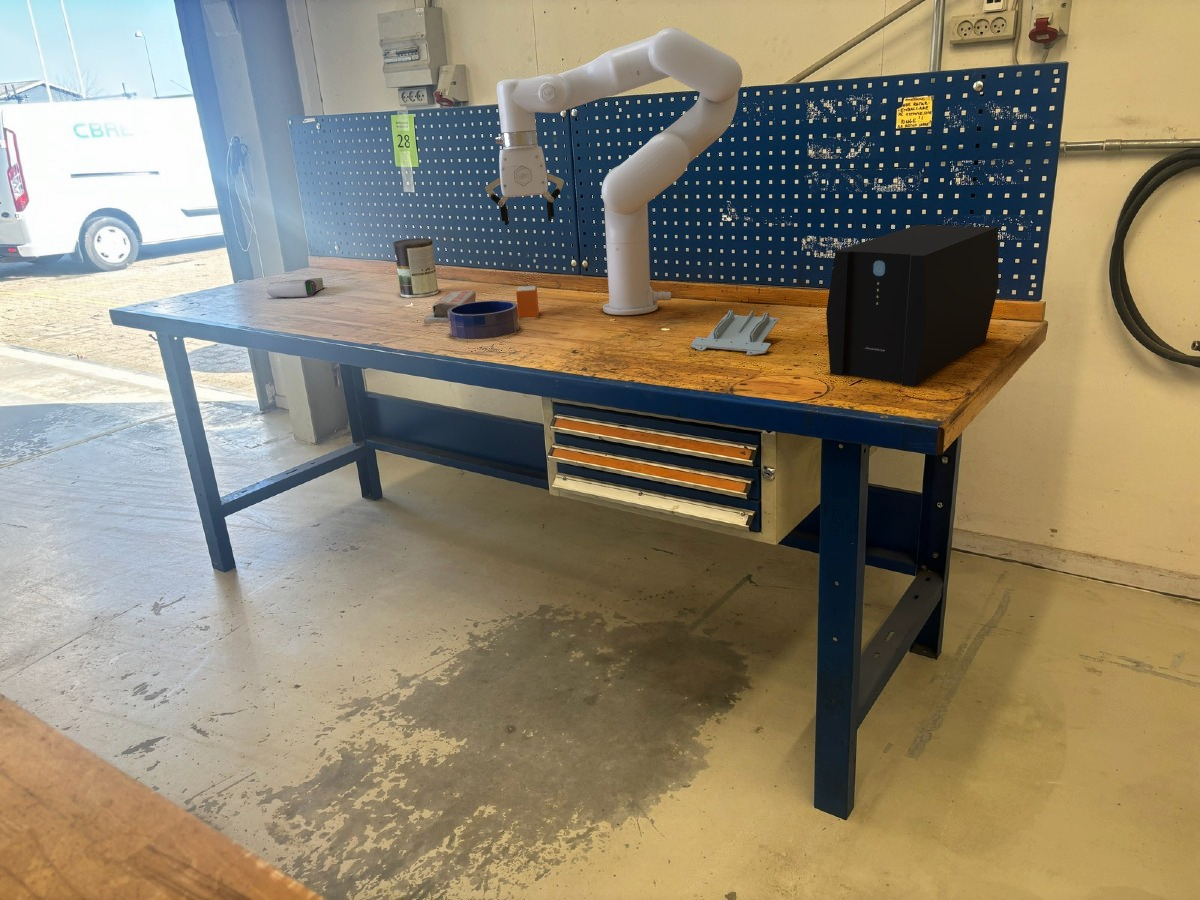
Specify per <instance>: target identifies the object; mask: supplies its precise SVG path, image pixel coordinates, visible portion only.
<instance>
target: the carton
mask: <svg viewBox="0 0 1200 900" xmlns="http://www.w3.org/2000/svg"><path fill="white" fill-rule="evenodd" d="M515 295H516V304H517V308H518V318H519V319H526V318H538V317H539V314H540V309H539V297H538V296H539V295H538V286H536V285H523V286H518V287H517V289H516V291H515Z"/></svg>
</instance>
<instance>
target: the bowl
mask: <svg viewBox="0 0 1200 900" xmlns="http://www.w3.org/2000/svg"><path fill="white" fill-rule="evenodd" d="M448 319H449V323H448V327H449V333H450V336H452V337H454V338H457V339H464V340H482V339H483V340H484V339H492V338H499V337H504V336H507V335H511V334H513V333H516V332H518V331H519V330H520V318H519V317H518V307H517V302H513V301H508V300H477V301H476V302H471V303H465V304H460V305H457V306H454V307H452V308H450V309H449V310H448Z"/></svg>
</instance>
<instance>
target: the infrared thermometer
mask: <svg viewBox="0 0 1200 900" xmlns="http://www.w3.org/2000/svg"><path fill="white" fill-rule="evenodd" d="M322 289H324V280H323V278H322V277H312V278H308V279H293V280H292V279H291V280H284V281H276V282H270V283H269V284H268V285H267V286H266V293H267V295H268V296H270V297H272V298H273V297H275V298H306V297H312V296H313V295H314V294H316V292H317V291H320V290H322Z"/></svg>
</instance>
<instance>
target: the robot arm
mask: <svg viewBox="0 0 1200 900" xmlns="http://www.w3.org/2000/svg"><path fill="white" fill-rule="evenodd" d="M743 77H744V75H743V70H742V67H741V65H740V64H739V62H738V61H737V60H736V59H735V58H734V57H732V56H731V55H729V54H727V53H725V52H723V51H722V50H719V49H718V48H715V47H714V46H712V45H710V44H708V43H706V42H704V41H702V40H700V39H698V38H697V37H694V36H693V35H692V34H690V33H687V32H686V31H684V30H682V29H680V28H677V27H666V28H664V29H661V30H660V31H659V32H657V33H656V34H654V35H651V36H649V37H645V38H643V39H640V40H636V41H634V42H630V43H628V44H624V45H621V46H619V47H615V48H612V49H610V50H608V51H607V50H606V52H603V53H601V54H600V55H599V56H597V57H596V58H595V59H593V60H591V61H590V62H587V63H585V64H582V65H579V66H576V67H574V68H572V69H569V70H565V71H563V72H560V73H556V74H552V73H547V74H541V75H538V76H534V77H528V78H526V77H525V78H524V77H516V78H506V79H502V80H499V81H498V82H497V84H496V97H497V106H498V113H499V122H500V132H501V135H500V136H498V137H497V136H496V137H494V138H495V139H494V140H495V144H496V145H501V146H502V149H499V154H498V155H499V157H498V158H499V159H498V161H499V162H498V165H499V177H498V178H496V179H494V180H493V181H491V183H489V184H487V185H486V186H485V188H484V190H485V192H486V193H487V194H488V196H489V198H490V199H491V200H492V201H493V202H494V203H495V204H496V205H498V207H499V210H500V211H499V212H500V218H501V222H504V226H508V225H509V224H510V220H509V211H508V205H507V204H506V202H507V200H508V199H509V198H519V197H530V196H540V195H542V196H543V197H544V198H545V200H547V201H546V210H547V212H546V213H547V221H548V222H552V221H553V219H552V218H554V217H555V207H554V201H555V200H556V199H557V198H558V197H559V195H560V194H561V191H562V189H563V186H564V183H565V181H564V179H563V178H560V177H557V176H555V175H553V174H551V173H548V172H547V167H546V159H545V156H544V151H543V148H542V145H539V144H538V133H537V132H538V131H537V124H536V114H535V113H542V114H543V113H545V114H558V113H562V112H564V111H567V110H571V109H574V108H576V107H579V106H582V105H585V104H589V103H591V102H593V101H597V100H599V99H604V98H608V97H613V96H617V95H619V94H623V93H625V92H629V91H632V90H635V89H637V88H641V87H643V86H646V85H650V84H653V83H656V82H658V81H661V80H664V79H668V78H671V79H673V80H676V81H677V82H678V83H681V84H683V85H684V86H687V87H688V88H690V89H693V90H694V91H696V92H698V93H699V96H698V98H697V100H696V102H695V104H693V106H691V107H690V108H689V109H688V110H687V111H686V112H685V113H683V114H682V115H681V116H680V117H679V118H678V119H677V120H675V121H674V122H673V123H672V124H670V125H669V126H668V127H667V128H665V129H664V130H663V131H660V132H659V133H657V134H656V135H654V136H653V137H651V138H650V139H649V140H648V141H647V143H645V144H644V145H643V146H642V147H640V148H639V149H638V150H637V151H635V152H634V153H633V154H632V155H630V156H629V157H628V158H627V159H626V160H624V161H623V162H622V163H621V164H619V165H617V166H615V167H614V168H612V169H611V170H609V172H607V174H606V175H605V177H604V179H603V181H602V185H601V198H602V201H603V203H604V205H603V206H604V226H605V227H604V228H605V246H606V247H605V249H606V266H607V268H606V269H607V284H608V302H606V303H605V304H603V306H602V311H603V313H605V314H608V315H614V316H636V315H644V314H649V313H652V312H654V311H656V310H658V308H659V304H658V301H664V302H665V301H672V293H671V291H664V290H663V291H655V290H653V287H652V286H651V271H650V270H651V268H650V266H651V265H650V238H649V237H650V236H649V235H650V234H649V233H650V232H649V211H648V207H649V206H648V203H650V202H651V201H652V200H653V199H655V198H656V197H657V196H659V195H660V194H661V193H662V192H664V190H666V189H668V187H670V186H671V185H672V184H674V183H675V182H676V181H678V180H679V178H680V177H682V176H683V174H684V173H685V172H686V170H687V168H688V165H689V164H690V163H691V162H692V161H693V160H695V159H696V158H697V157H698V156H699V155H701V154H702V153H703V152H705V150H707V148H709V147H710V146H712V145H713V144H714V143H715V142H716V141H717V140H718V139H719V138H720V137H721V136H722V135H723V134H724V133H725V132H726V131H727V130H728V128H729V126H730V125H731V123H732V121H733V119H734V117H735V114H736V110H737V107H738V104H739V103H738V102H739V101H738V100H739V91H740V89H741V87H742V83H743V79H744V78H743ZM549 182H552V183H554V184H555V185H556V187H555V189H554V190H553V192H552V193H550V191H549V190H548V189H549ZM499 185H500V190H501V194H502V196H501V197H499V196H498V195H497V194H496V193H495V191H494V189H495V188H497V187H498V186H499Z"/></svg>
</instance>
